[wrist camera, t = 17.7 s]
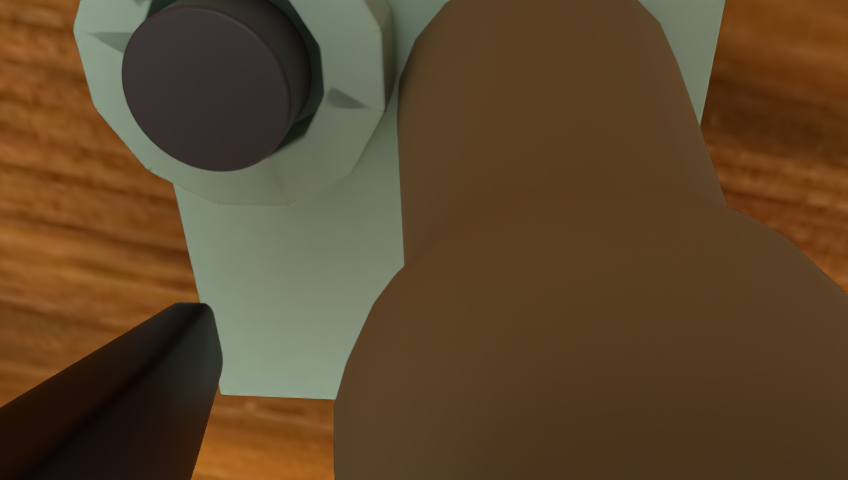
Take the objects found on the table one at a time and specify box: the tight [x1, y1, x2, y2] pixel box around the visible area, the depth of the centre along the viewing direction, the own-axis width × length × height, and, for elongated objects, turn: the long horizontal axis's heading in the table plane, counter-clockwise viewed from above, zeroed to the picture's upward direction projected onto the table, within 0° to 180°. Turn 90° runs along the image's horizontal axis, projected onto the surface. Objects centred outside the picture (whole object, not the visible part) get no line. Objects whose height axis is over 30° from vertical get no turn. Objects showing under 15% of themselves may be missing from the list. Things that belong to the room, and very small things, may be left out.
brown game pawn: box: [334, 0, 848, 480], centre depth 10 cm, size 6×6×11 cm
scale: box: [73, 0, 725, 399], centre depth 16 cm, size 12×13×3 cm
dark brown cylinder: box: [121, 0, 312, 172], centre depth 13 cm, size 3×3×2 cm
